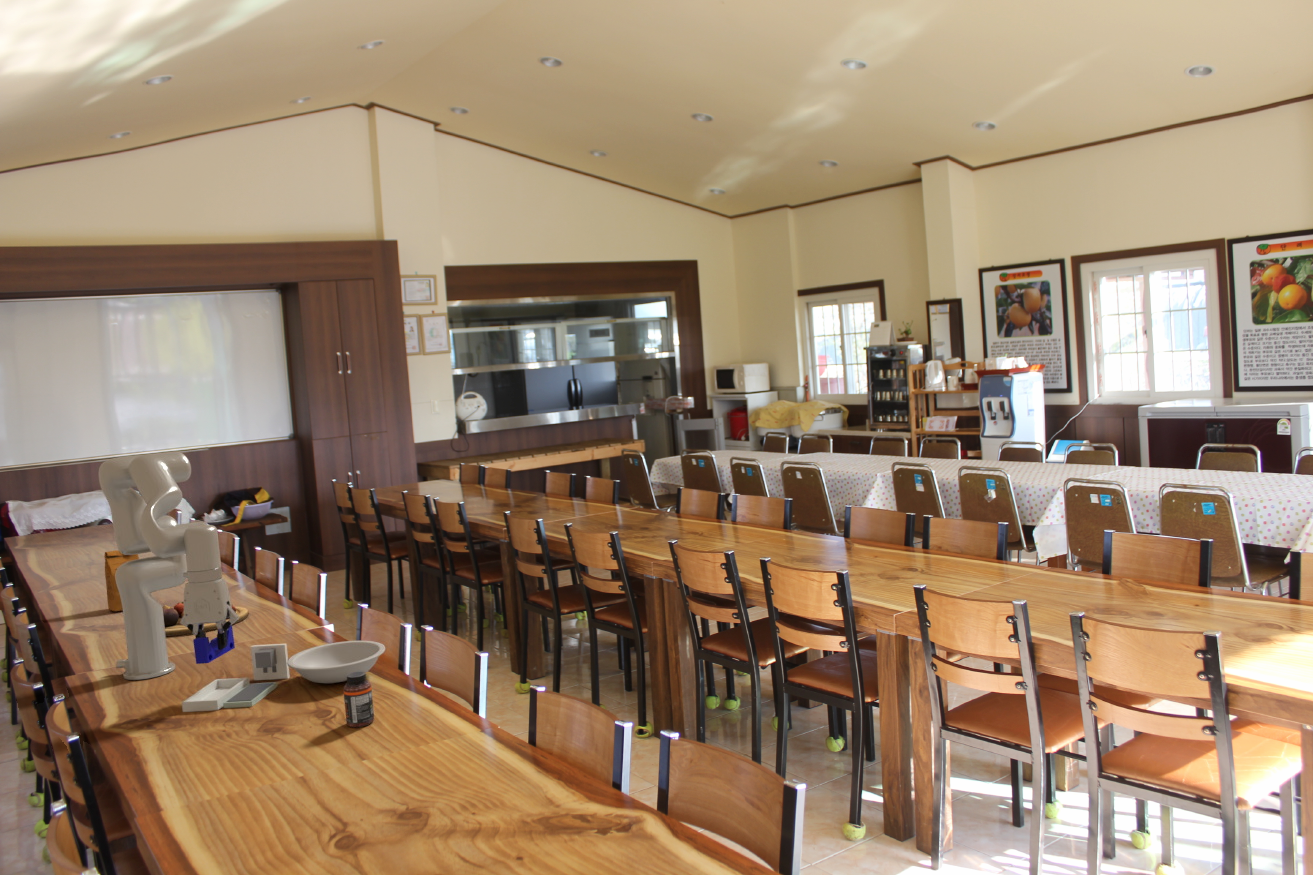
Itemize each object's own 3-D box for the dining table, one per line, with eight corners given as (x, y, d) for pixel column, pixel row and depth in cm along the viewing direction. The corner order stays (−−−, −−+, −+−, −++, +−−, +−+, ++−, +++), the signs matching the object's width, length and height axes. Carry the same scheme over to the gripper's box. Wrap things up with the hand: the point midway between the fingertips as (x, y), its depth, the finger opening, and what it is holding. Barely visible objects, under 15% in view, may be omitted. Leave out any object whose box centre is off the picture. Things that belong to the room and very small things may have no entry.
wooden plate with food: (269, 616, 319) (266, 592, 319) (176, 641, 293) (174, 615, 292) (215, 610, 337) (212, 587, 336) (123, 633, 311) (121, 608, 310)
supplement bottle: (345, 721, 213) (340, 672, 212) (372, 716, 215) (368, 667, 215) (347, 730, 208) (343, 679, 207) (376, 724, 210) (371, 674, 209)
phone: (223, 707, 228) (223, 702, 228) (250, 688, 242) (249, 682, 242) (252, 706, 227) (251, 700, 227) (277, 686, 241) (276, 681, 241)
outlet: (248, 684, 245) (244, 650, 244) (256, 678, 249) (252, 645, 249) (282, 682, 245) (279, 648, 244) (289, 676, 249) (286, 643, 248)
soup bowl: (405, 666, 252) (403, 641, 252) (348, 697, 230) (346, 670, 229) (330, 662, 260) (328, 638, 260) (268, 692, 238) (266, 666, 237)
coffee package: (151, 607, 344) (145, 547, 342) (112, 614, 336) (106, 553, 334) (144, 603, 352) (138, 544, 350) (106, 610, 343) (99, 550, 342)
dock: (182, 711, 227) (181, 702, 227) (216, 688, 243) (216, 679, 243) (218, 709, 226) (217, 700, 226) (249, 686, 243) (248, 677, 243)
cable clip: (218, 648, 240) (215, 625, 240) (234, 647, 240) (231, 624, 239) (190, 664, 229) (187, 639, 228) (208, 663, 228) (204, 638, 228)
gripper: (163, 581, 229) (170, 655, 230) (231, 577, 229) (239, 651, 230) (179, 574, 237) (187, 646, 238) (245, 570, 236) (253, 642, 237)
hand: (212, 647), depth 234 cm, fingers closed on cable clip, 4 cm apart
